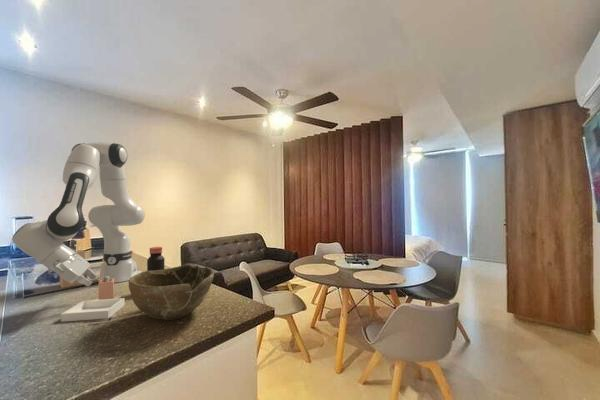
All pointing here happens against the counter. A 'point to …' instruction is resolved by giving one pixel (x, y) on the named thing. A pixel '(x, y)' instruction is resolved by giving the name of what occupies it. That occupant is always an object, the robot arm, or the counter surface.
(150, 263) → the bottle
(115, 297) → the peg stand
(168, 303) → the bowl
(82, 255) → the tan rectangular block
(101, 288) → the sleeve
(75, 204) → the robot arm
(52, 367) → the counter surface
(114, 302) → the tray
